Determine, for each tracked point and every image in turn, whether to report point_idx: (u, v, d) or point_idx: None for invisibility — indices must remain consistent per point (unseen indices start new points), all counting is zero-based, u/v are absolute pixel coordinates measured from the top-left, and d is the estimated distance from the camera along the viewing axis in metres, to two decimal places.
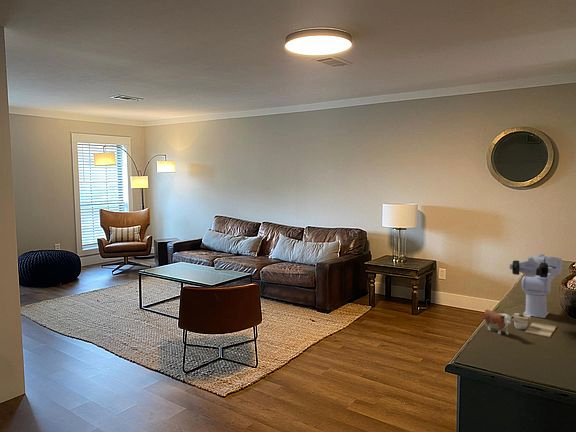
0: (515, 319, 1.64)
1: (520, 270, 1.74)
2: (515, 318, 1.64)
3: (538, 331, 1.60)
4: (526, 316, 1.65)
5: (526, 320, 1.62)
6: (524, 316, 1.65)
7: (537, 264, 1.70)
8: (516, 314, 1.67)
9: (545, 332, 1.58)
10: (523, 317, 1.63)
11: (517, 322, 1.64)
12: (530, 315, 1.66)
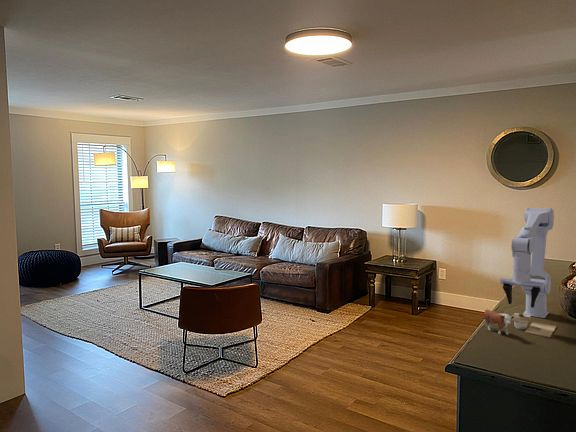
0: (515, 319, 1.64)
1: None
2: (515, 318, 1.64)
3: (538, 331, 1.60)
4: (526, 316, 1.65)
5: (526, 320, 1.62)
6: (524, 316, 1.65)
7: None
8: (516, 314, 1.67)
9: (545, 332, 1.58)
10: (523, 317, 1.63)
11: (517, 322, 1.64)
12: (530, 315, 1.66)
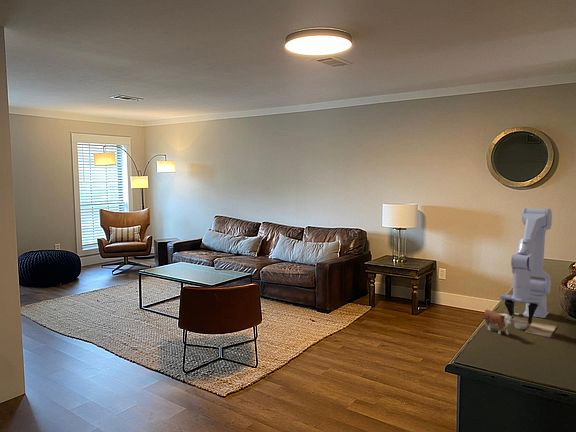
0: (515, 319, 1.64)
1: None
2: (515, 318, 1.64)
3: (538, 331, 1.60)
4: (526, 316, 1.65)
5: (526, 320, 1.62)
6: (524, 316, 1.65)
7: None
8: (516, 314, 1.67)
9: (545, 332, 1.58)
10: (523, 317, 1.63)
11: (517, 322, 1.64)
12: None
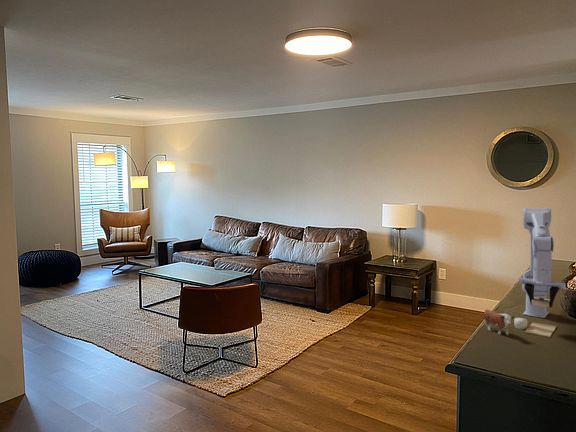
0: (535, 303, 1.60)
1: None
2: (535, 302, 1.60)
3: (538, 331, 1.60)
4: (547, 300, 1.61)
5: (547, 304, 1.58)
6: (545, 300, 1.61)
7: None
8: (536, 298, 1.63)
9: (545, 332, 1.58)
10: (544, 301, 1.59)
11: (517, 322, 1.64)
12: None
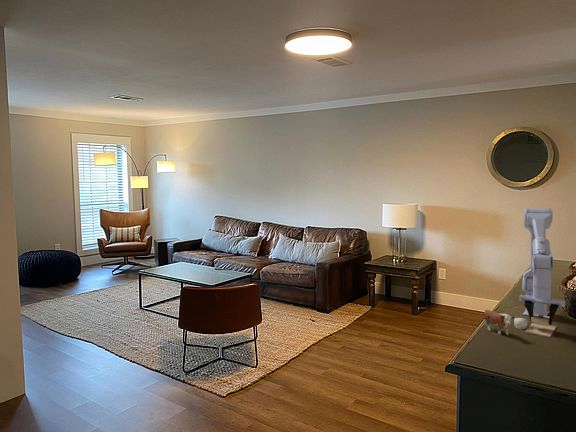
0: (535, 320, 1.61)
1: None
2: (535, 319, 1.61)
3: (538, 331, 1.60)
4: (546, 317, 1.61)
5: (547, 322, 1.58)
6: (544, 317, 1.61)
7: None
8: (536, 315, 1.64)
9: (545, 332, 1.58)
10: (543, 319, 1.60)
11: (517, 322, 1.64)
12: None
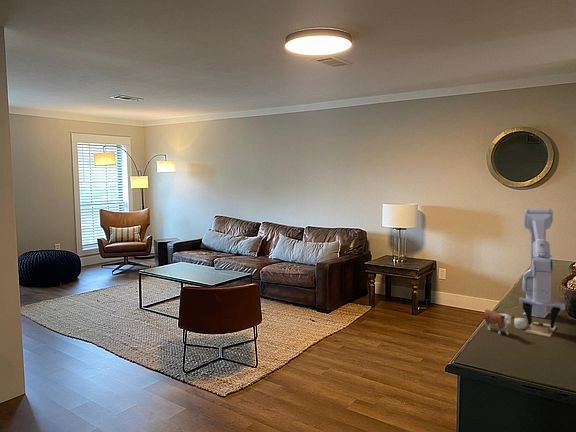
0: (535, 329, 1.61)
1: None
2: (535, 328, 1.61)
3: (538, 331, 1.60)
4: (546, 325, 1.61)
5: (546, 330, 1.59)
6: (544, 325, 1.61)
7: None
8: (535, 323, 1.64)
9: (545, 332, 1.58)
10: (543, 327, 1.60)
11: (517, 322, 1.64)
12: None
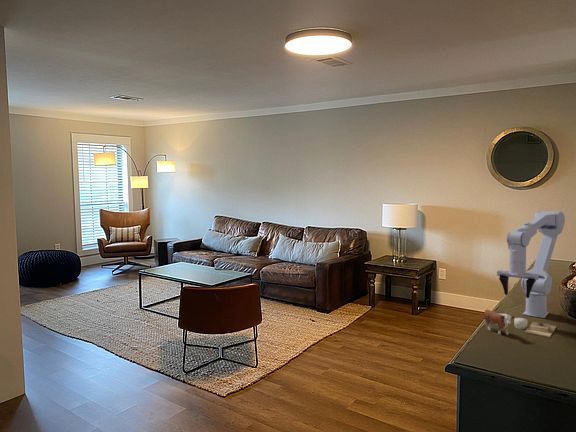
0: (535, 329, 1.61)
1: None
2: (535, 328, 1.61)
3: (538, 331, 1.60)
4: (546, 325, 1.61)
5: (546, 330, 1.59)
6: (544, 325, 1.61)
7: None
8: (535, 323, 1.64)
9: (545, 332, 1.58)
10: (543, 327, 1.60)
11: (517, 322, 1.64)
12: None
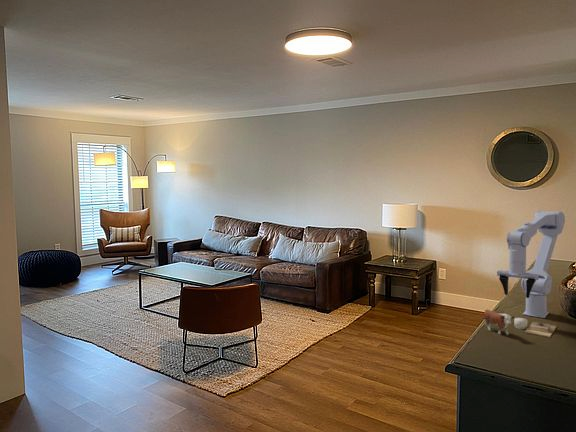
0: (535, 329, 1.61)
1: None
2: (535, 328, 1.61)
3: (538, 331, 1.60)
4: (546, 325, 1.61)
5: (546, 330, 1.59)
6: (544, 325, 1.61)
7: None
8: (535, 323, 1.64)
9: (545, 332, 1.58)
10: (543, 327, 1.60)
11: (517, 322, 1.64)
12: None
